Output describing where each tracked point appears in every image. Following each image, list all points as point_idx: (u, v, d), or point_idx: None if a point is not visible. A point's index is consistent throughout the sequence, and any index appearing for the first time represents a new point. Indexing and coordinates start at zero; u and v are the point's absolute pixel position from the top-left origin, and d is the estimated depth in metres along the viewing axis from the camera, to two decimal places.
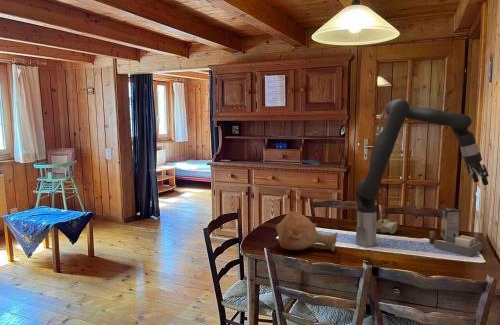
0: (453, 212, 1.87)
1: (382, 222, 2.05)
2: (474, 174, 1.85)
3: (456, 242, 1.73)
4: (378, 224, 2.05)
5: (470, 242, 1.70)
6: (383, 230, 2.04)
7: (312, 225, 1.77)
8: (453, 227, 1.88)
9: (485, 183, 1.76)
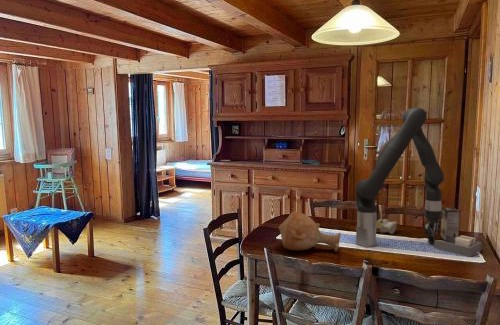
0: (453, 212, 1.87)
1: (381, 222, 2.05)
2: None
3: (456, 242, 1.73)
4: (377, 224, 2.06)
5: (470, 242, 1.70)
6: (382, 230, 2.04)
7: (315, 225, 1.77)
8: (453, 227, 1.88)
9: (428, 240, 1.85)
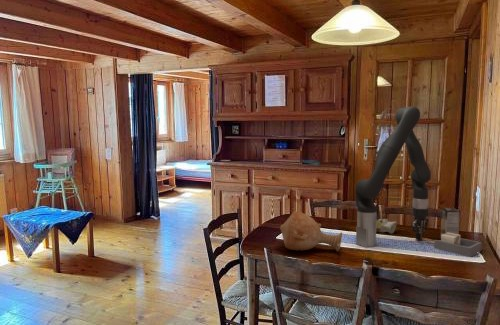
0: (453, 212, 1.87)
1: (381, 222, 2.05)
2: None
3: (442, 239, 1.79)
4: (377, 224, 2.06)
5: (455, 239, 1.75)
6: (382, 230, 2.05)
7: (317, 225, 1.77)
8: (453, 227, 1.88)
9: (416, 237, 1.90)
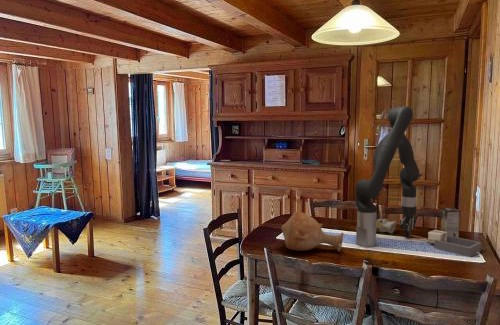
0: (453, 212, 1.87)
1: (381, 222, 2.05)
2: None
3: (429, 236, 1.84)
4: (377, 224, 2.06)
5: (442, 236, 1.80)
6: (382, 230, 2.05)
7: (318, 225, 1.76)
8: (453, 227, 1.88)
9: (404, 235, 1.95)
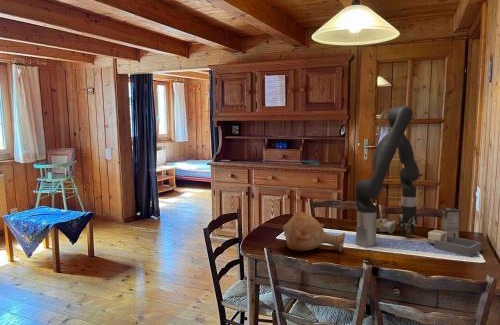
0: (453, 212, 1.87)
1: (381, 222, 2.06)
2: (412, 225, 1.98)
3: (429, 236, 1.84)
4: (377, 224, 2.06)
5: (442, 236, 1.80)
6: (382, 229, 2.05)
7: (320, 225, 1.76)
8: (453, 227, 1.88)
9: None
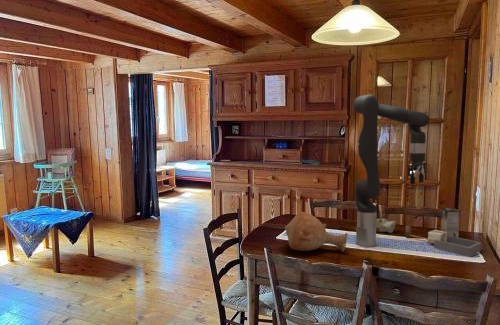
0: (453, 212, 1.87)
1: (380, 221, 2.06)
2: (421, 174, 1.92)
3: (429, 236, 1.84)
4: (376, 223, 2.07)
5: (442, 236, 1.80)
6: (381, 229, 2.05)
7: (322, 225, 1.76)
8: (453, 227, 1.88)
9: (410, 181, 1.87)
